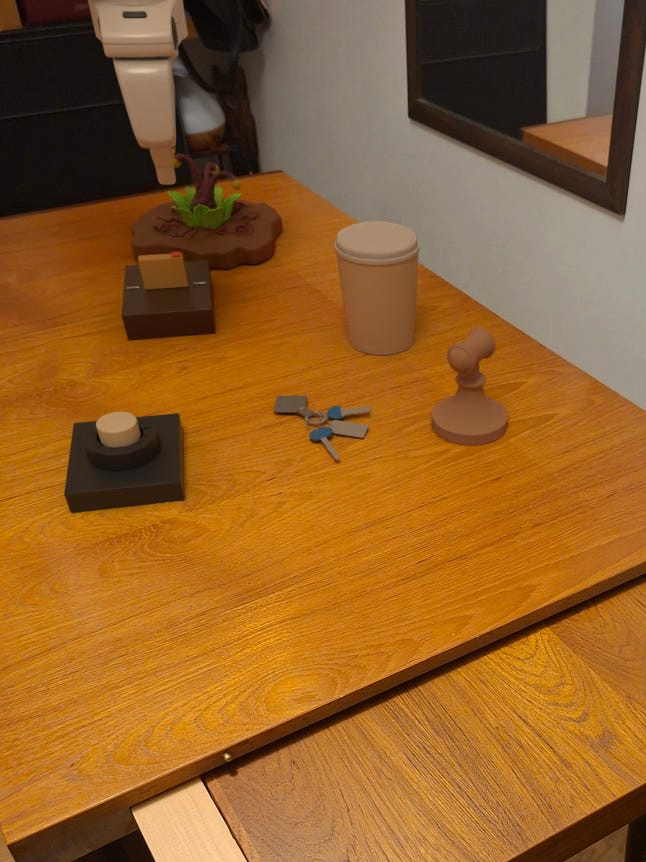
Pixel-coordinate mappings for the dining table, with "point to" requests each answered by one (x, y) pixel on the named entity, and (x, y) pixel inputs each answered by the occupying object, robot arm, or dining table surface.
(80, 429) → the box
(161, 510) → the dining table surface
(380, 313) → the coffee cup
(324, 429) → the key chain
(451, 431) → the door knob
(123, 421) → the button
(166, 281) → the lock knob
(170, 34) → the robot arm
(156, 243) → the plant
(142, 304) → the plate
